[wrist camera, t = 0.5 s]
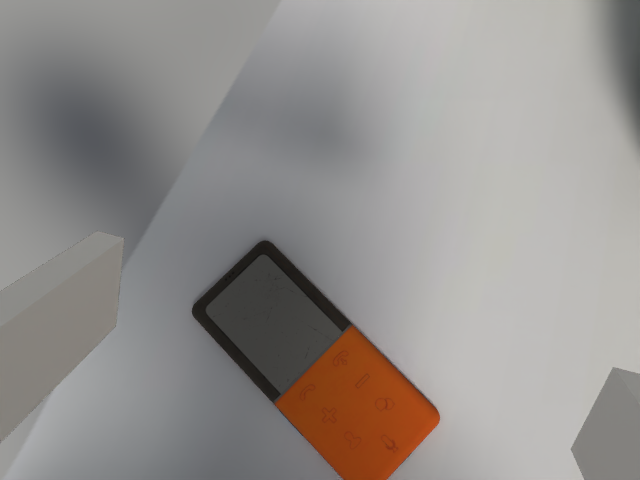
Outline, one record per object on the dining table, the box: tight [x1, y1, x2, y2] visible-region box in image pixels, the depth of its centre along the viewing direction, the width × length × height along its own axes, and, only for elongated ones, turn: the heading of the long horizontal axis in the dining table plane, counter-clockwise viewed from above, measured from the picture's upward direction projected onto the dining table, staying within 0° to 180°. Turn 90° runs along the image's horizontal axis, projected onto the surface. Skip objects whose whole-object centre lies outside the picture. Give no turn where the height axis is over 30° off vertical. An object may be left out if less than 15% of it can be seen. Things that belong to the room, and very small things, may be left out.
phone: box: [192, 241, 440, 480], centre depth 31 cm, size 6×1×15 cm
